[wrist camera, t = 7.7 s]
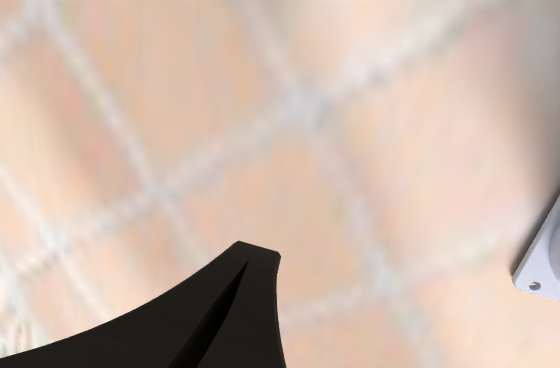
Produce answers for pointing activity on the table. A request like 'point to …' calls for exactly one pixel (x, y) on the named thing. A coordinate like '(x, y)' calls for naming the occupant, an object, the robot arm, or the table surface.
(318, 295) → the table surface
